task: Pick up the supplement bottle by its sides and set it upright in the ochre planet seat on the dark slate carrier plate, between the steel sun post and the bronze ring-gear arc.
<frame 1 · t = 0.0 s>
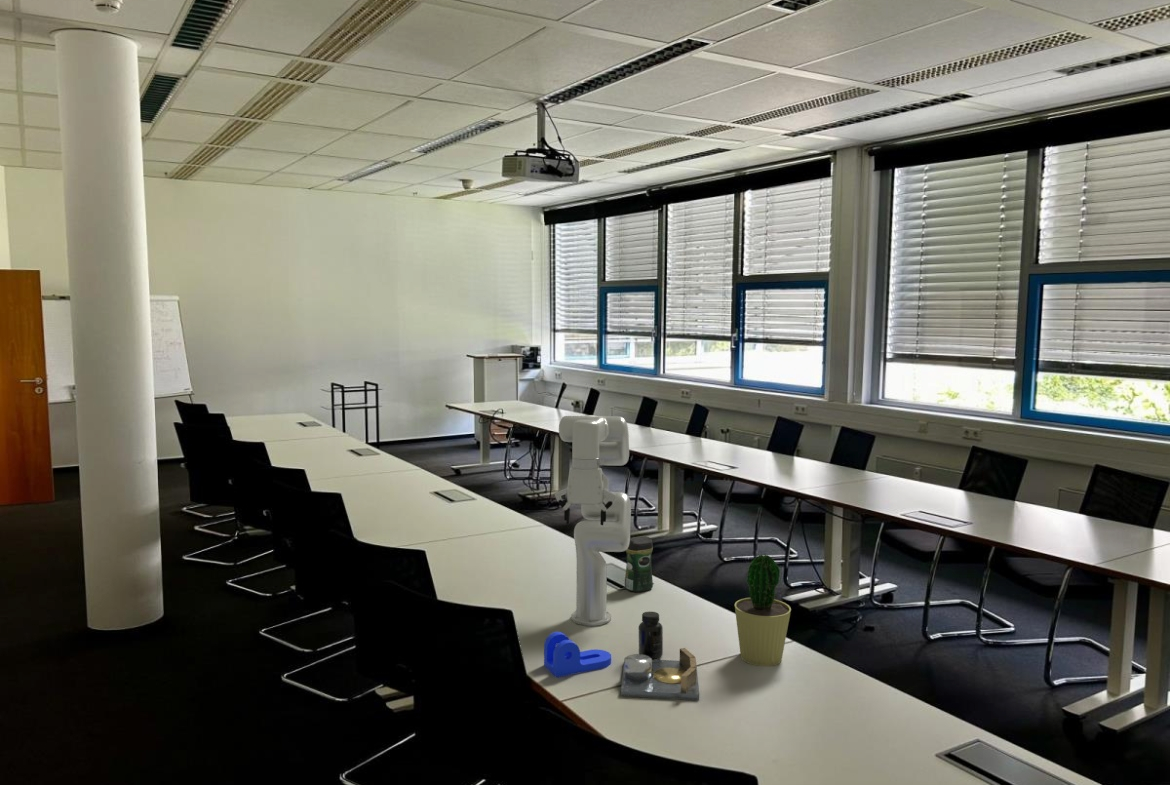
hand: (585, 523, 229), 37 cm above the table, tool pointing down, fingers open, 9 cm apart
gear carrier: (657, 680, 212), on the table
supplement bottle: (650, 656, 228), on the table
potted cactus: (761, 658, 227), on the table
coffee jar: (638, 589, 285), on the table
bracket: (580, 666, 222), on the table
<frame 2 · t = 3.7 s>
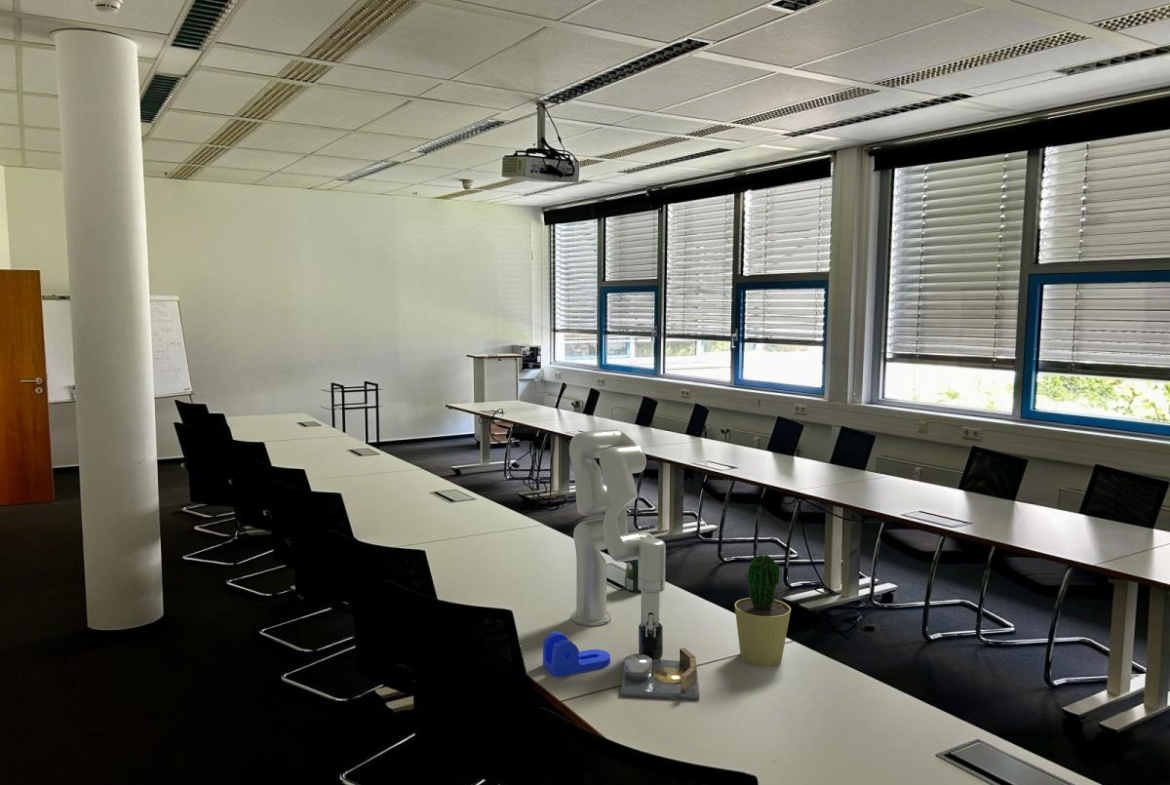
hand: (650, 644, 228), 3 cm above the table, tool pointing down, fingers closed on supplement bottle, 6 cm apart
supplement bottle: (650, 656, 228), on the table, touching gripper
everything else where it was.
when the fingers open (6 cm above the table, at t = 8.9 s): supplement bottle drops 1 cm, resting on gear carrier.
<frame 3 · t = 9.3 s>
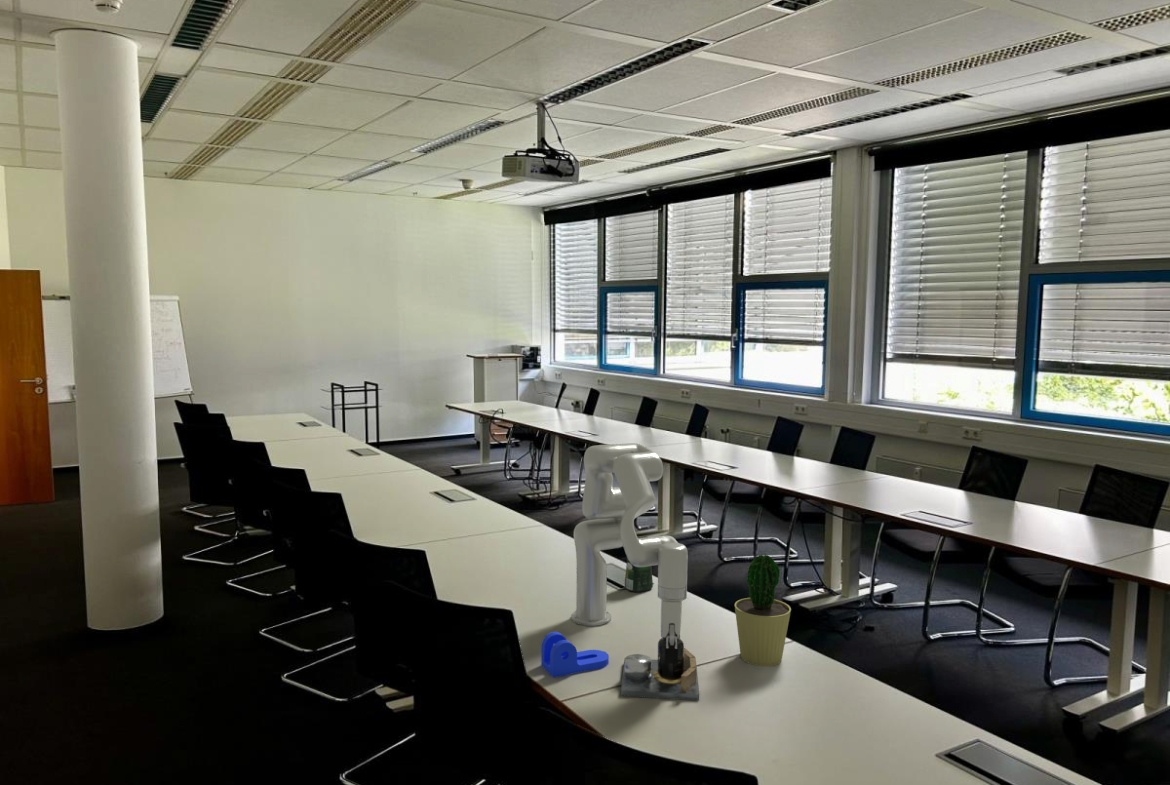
hand: (671, 655, 211), 7 cm above the table, tool pointing down, fingers open, 9 cm apart
supplement bottle: (670, 675, 212), point 2 cm above the table, touching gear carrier
everything else where it was.
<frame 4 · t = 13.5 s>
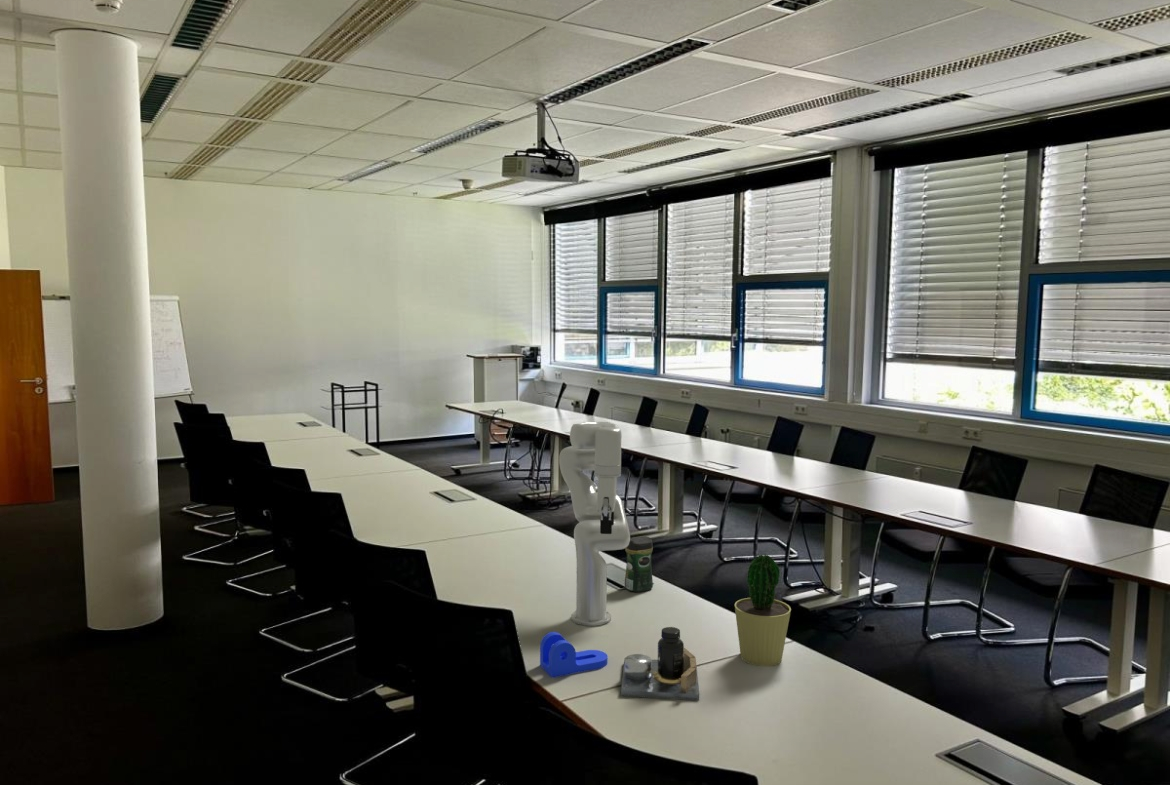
hand: (607, 529, 232), 34 cm above the table, tool pointing down, fingers open, 9 cm apart
at the end: supplement bottle 0.4 cm from the target spot on the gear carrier, point 1.5 cm above the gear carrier's base; supplement bottle tilted 0°; the gripper is holding nothing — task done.
